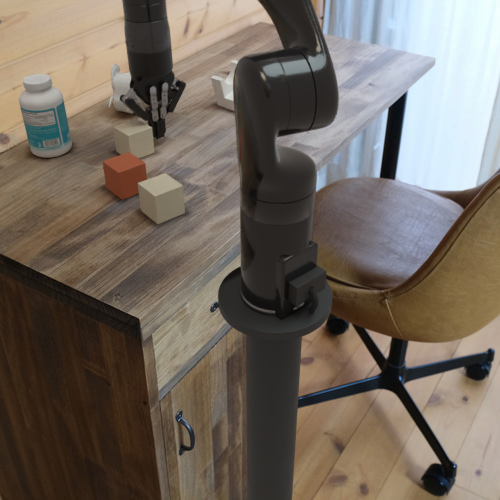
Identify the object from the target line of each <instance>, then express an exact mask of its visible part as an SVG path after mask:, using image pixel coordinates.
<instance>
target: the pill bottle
mask: <svg viewBox="0 0 500 500" xmlns="http://www.w3.org/2000/svg"><path fill="white" fill-rule="evenodd" d="M22 84H23V88H24V90H23V91H22V92H21V93H20V95H19V97H18V103H19V108H20V111H21V116H22V121H23V125H24V129H25V134H26V138H27V142H28V146H29V149H30V152H31V153H32V155H34V156H36V157H39V158H44V159H45V158H46V159H47V158H48V159H49V158H56V157H60V156H62V155H65V154H66V153H68V152H69V151H71V149H72V147H73V140H72V136H71V131H70V126H69V125H70V124H69V121H68V115H67V109H66V105H65V100H64V95H63V93H62V91H61V90H60V89H58V88H57V87H55V86H53V81H52V76H51V75H49V74H47V73H35V74H31V75H28V76H25V77H24V78H22Z"/></svg>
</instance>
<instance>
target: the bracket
mask: <svg viewBox="0 0 500 500" xmlns="http://www.w3.org/2000/svg"><path fill="white" fill-rule="evenodd" d="M238 61H239V60H237V59H232V60H231V61H230V70H229V73H228V76H227V77H226V78H225V79H224V78H223V77H221V76H217V75H216V74H215V75H212V76H210V80H211V84H212V88H213V93H214V96H215V100H216V103H217V104H216V105H217V106H219V107H221V108H224V109H227V110H230V111H233V112H234V101H233V77H234V71H235V68H236V65H237V63H238Z"/></svg>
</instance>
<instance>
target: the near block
mask: <svg viewBox="0 0 500 500" xmlns="http://www.w3.org/2000/svg"><path fill="white" fill-rule="evenodd" d="M138 190H139V194H138V198H139V205H140V206H139V207H140V211H141V212H142V213H144V214H145V215H146V217H148V218H149V219H150V220H151V221H153V222H154V223H155V224H157V225H159V224H160V225H161V224H162V223H165V222H167V221H170V220H172V219H174V218H178V217H181V216H182V215H185V214H186V207H185V194H184V193H185V192H184V185H183V184H181V182H179V181H177V180H176V179H174V178H173V177H172V176H170V175H169V174H167V172H165V173H161V174H159V175H156V176H153V177H150V178H147V180H145V181H142V182H139V183H138Z"/></svg>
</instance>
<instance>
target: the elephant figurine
mask: <svg viewBox="0 0 500 500" xmlns="http://www.w3.org/2000/svg"><path fill="white" fill-rule="evenodd" d="M110 78H111V80H110V81H111V89H112V93H113V94H111V96H110V98H109V101H108V108H110V107H111V104H113V107H114V109H115V110H116V111H118V112H123V113H127V114H131V115H132V114H135V113H134V112H133V111H131V110H130V109H129V108H128V107H127V106H126V105H125V104H124V103H122V102H121V101H120V96H121V95H126V94H127V92H128V91H129V90H130V81H131V74H130V72H123V73H122V72H121V67H120V65H119V64H118V63H112V65H111V67H110ZM136 98H137V101H138V102H137V103H136V104H137V105H139V106H140V107H141V108H142V109H143V110H144V111H145V109H144V106H143V104H142V100H141V99H140V98H139V97H138V96H137V95H136ZM112 101H113V103H112Z"/></svg>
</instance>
